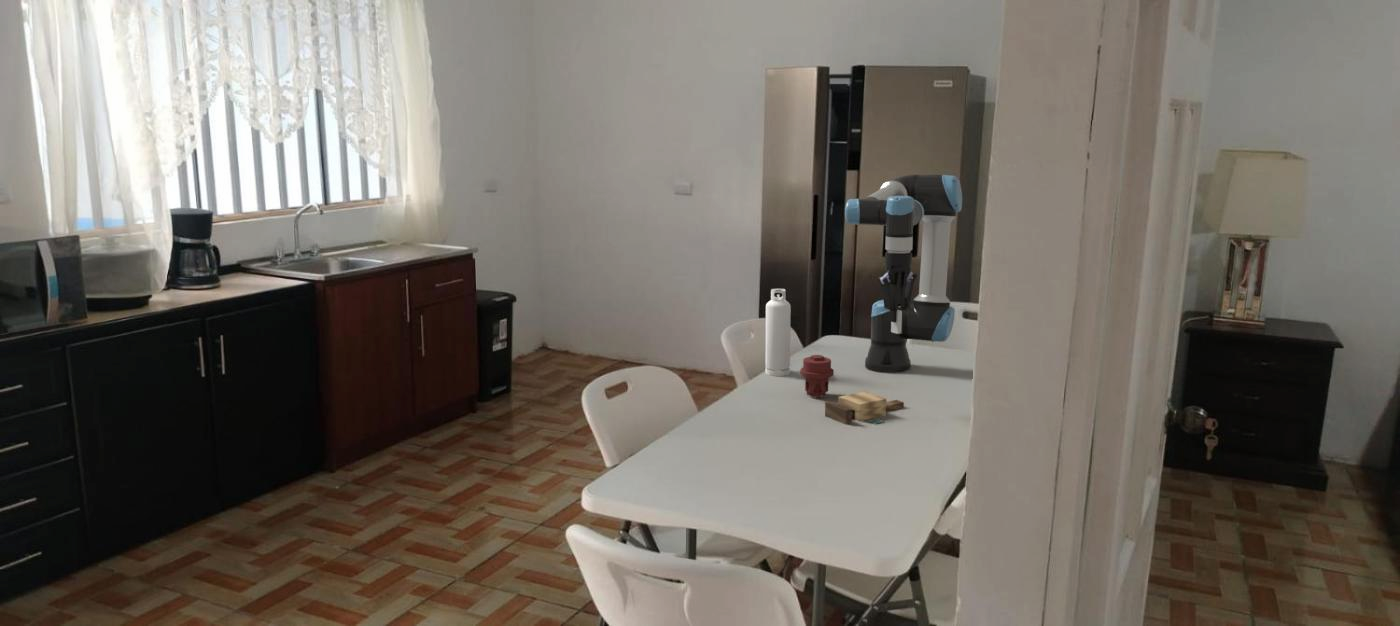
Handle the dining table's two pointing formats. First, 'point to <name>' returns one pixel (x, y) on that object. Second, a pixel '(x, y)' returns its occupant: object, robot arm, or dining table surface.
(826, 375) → the mechanical component
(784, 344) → the bottle
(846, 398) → the light wooden box
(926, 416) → the dining table surface
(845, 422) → the wooden block assembly
